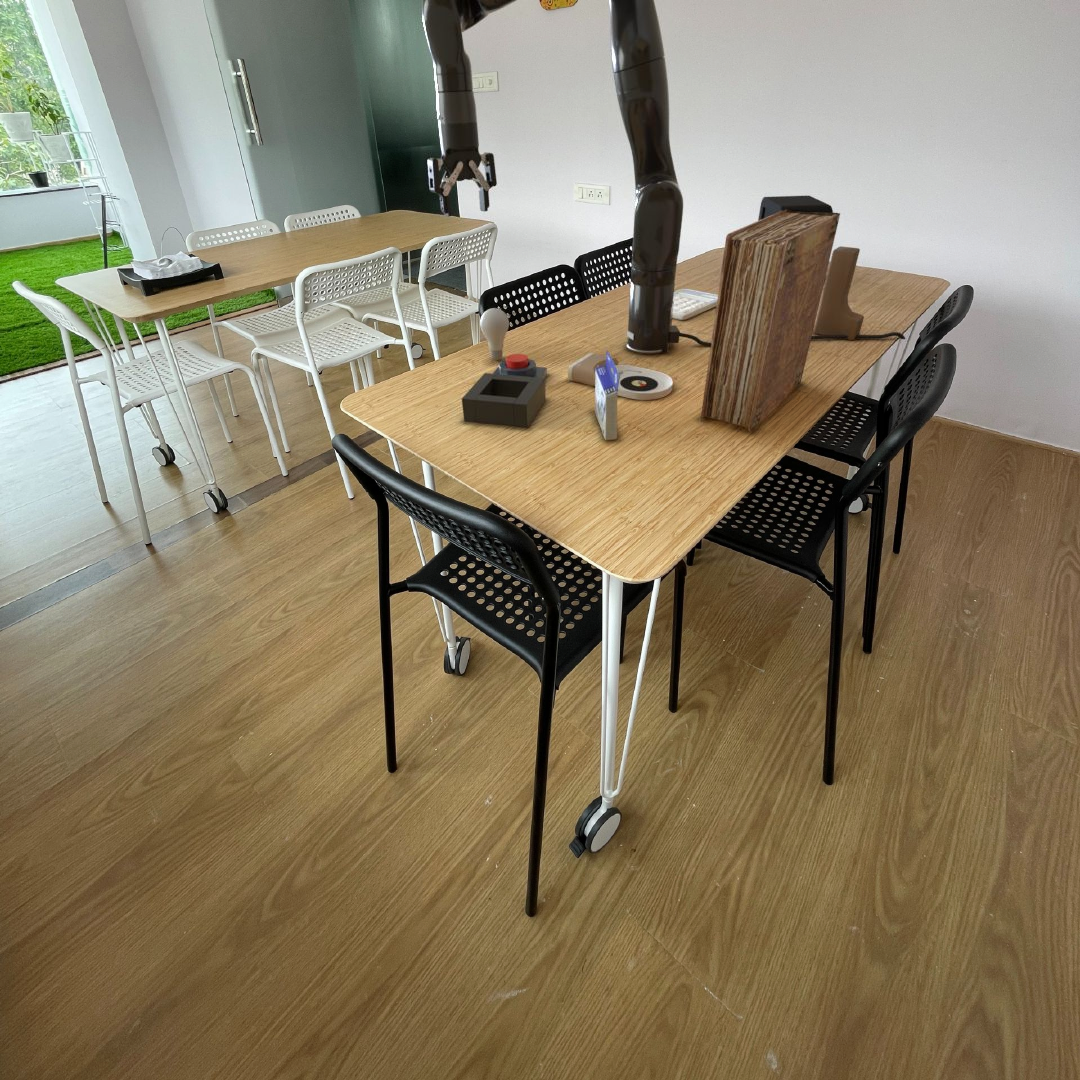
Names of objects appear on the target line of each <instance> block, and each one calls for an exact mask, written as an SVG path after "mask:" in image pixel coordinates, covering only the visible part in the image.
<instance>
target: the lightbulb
mask: <svg viewBox="0 0 1080 1080" xmlns="http://www.w3.org/2000/svg"><path fill="white" fill-rule="evenodd" d="M509 326H510V321H509V317H508V315H507V314H506V312H505V311H504V310H501V309H499V308H496V307H491V308H489V309H486V311H484V312H483V314H482V315H481V316H480V319H479V328H480V330H481V332H482V333H483V335H484V337H485V338H486V341H487V344H488V349H489V351H490V358H491V359H493V360H494V361H500V359H502V358H503V354H504V353H503V351H504V350H503V349H504V341H505V337H506V335H507V333H508V330H509V328H510V327H509Z"/></svg>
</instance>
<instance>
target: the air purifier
mask: <svg viewBox="0 0 1080 1080" xmlns="http://www.w3.org/2000/svg"><path fill="white" fill-rule="evenodd" d="M785 209H794V210H806V211H819V212H832V213H834V210H833V207H832V206H831V205H830V204H828V203H826V202H824V201H822V200H820V199H819V198H815V197H813V196H811V195H782V196H777V195H776V196H763V197H762V199H761V202H760V206H759V213H758V218H757V221H759V220H762V219H764V218H766V217H769V216H771V215H773V214H776V213H778V212H780V211H783V210H785Z"/></svg>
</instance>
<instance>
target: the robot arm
mask: <svg viewBox="0 0 1080 1080" xmlns="http://www.w3.org/2000/svg"><path fill="white" fill-rule="evenodd" d="M421 1H422V2H421V13H422V22H423V27H424V32H425V37H426V41H427V45H428V49H429V52H430V55H431V60H432V62H433V74H434V82H435V94H436V112H437V113H436V119H437V123H438V132H439V142H440V149H441V157H440V158H436V157H435V158H434V157H429V158H428V159H427V174H428V175H427V176H428V186H429V191H430V192H431V193H434V194H437V195H438V196H439V204H440V210H441V213H442V214H443V215H444V217H452V205H451V204H452V203H451V196H450V195H449V194H450V192H451V190H452V188H453V186H455V184H456V182H463V181H465V180H467V181H473V182H474V183H475V184H476V186H477V187H478V189H479V190H478V200H479V211H481V212H483V213H484V212H488V210H489V208H490V193H489V191H490V189H492V188H493V187H496V186H497V185H498V182H497V174H496V172H497V171H496V162H495V155H494V153H492V152H486V151H485V152H483V153H480V151H479V148H480V147H479V146H480V142H479V141H480V140H479V130H478V129H479V128H478V118H477V105H476V99H475V93H474V84H473V83H474V82H473V73H472V72H473V70H472V62H471V59H470V56H469V54H468V53H467V52H466V50H465V46H464V45H465V44H464V38H463V33H464V32H467V31H468V30H469V29H471V28H472V27H474V26H475V25H477V24H479V23H480V22H481V21H483V20H484V19H485V18H487V17H488V16H489V15H490V14H492V13H495V12H497V11H499V10H501V9H504V8H505V7H507V6H509V5H511V4H513V3H515V2H517V1H518V0H421ZM608 3H609V23H610V24H609V25H610V26H609V27H610V29H609V31H610V54H611V65H612V66H611V67H612V74H613V80H614V86H615V93H616V98H617V103H618V108H619V112H620V117H621V119H622V124H623V127H624V130H625V133H626V137H627V140H628V143H629V146H630V150H631V156H632V164H633V174H634V186H635V187H634V189H635V202H634V214H633V215H634V217H633V234H632V249H631V251H632V252H631V271H630V285H629V286H630V288H629V303H628V304H629V305H628V319H627V320H628V322H627V330H626V340H627V341H626V349H627V350H628V351H630V352H632V353H635V354H640V355H659V354H667V353H668V351H669V348H670V344H679V342H680V338H686V339H690V340H693V341H695V342H696V343H697V344H699V345H700V346H705V347H711V342H708V341H703V340H701V339H700V338H698V337H697V336H695V335H692V334H689V333H683V332H681V331H680V329H679V328H678V326H677V325H673V318H672V316H673V306H674V302H673V296H674V292H675V285H676V273H677V266H678V265H677V264H678V257H679V251H680V242H681V235H682V234H681V233H682V227H683V226H682V225H683V214H684V198H683V197H684V196H683V194H682V191H681V188H680V185H679V182H678V179H677V173H676V169H675V165H674V159H673V155H672V150H671V149H672V147H671V141H670V140H671V139H670V93H669V79H668V71H667V70H668V69H667V61H666V57H665V56H666V55H665V48H664V41H663V36H662V32H661V26H660V21H659V17H658V12H657V8H656V3H655V0H608ZM481 164H482V166H483V167H484V174H483V173H482V172H481V170H480V169H479V168H480V165H481ZM442 167H443V169H444V170H445V171H444V174H443V176H442V178H441V183H440V171H441V169H442ZM484 175H485V176H484ZM890 337H898V338H899V339H900V340H906V336H905V335H904V334H902V333H901V332H898V331H892V332H888V333H884V334H859V335H856V337H855V339H858V340H859V339H861V340H867V339H868V340H872V339H873V340H876V339H877V340H878V339H884V338H890ZM844 338H848V336H847V335H820V334H816V335H812V337H811V340H832V339H833V340H835V339H837V340H839V339H841V340H842V339H843V340H845V339H844ZM855 339H854V340H855Z"/></svg>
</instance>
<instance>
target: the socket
mask: <svg viewBox="0 0 1080 1080" xmlns="http://www.w3.org/2000/svg"><path fill="white" fill-rule="evenodd" d="M546 398H547V397H546V377H545V378H538V377H526V376H514V375H502V374H492V373H489V372H484V373H483V374H482V375H481V377H480V378H479V379H477V381H476V382H475V383H474V385H472V387H471V388H470V389H469V390H468V391H467V392H466V393H465V394H464V396H462V398H461V407H462V415H463V422H464V423H470V424H471V423H473V424H481V425H483V424H484V425H493V426H501V427H503V426H504V427H511V428H521V429H528V428H529V427H530V425H531V424H532V422H533V421H534V419H535V418H536V416H537V415H538V413H539V411H540V410H541V408H542V407H543V405H544V404H545V402H546V400H547V399H546Z"/></svg>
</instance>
